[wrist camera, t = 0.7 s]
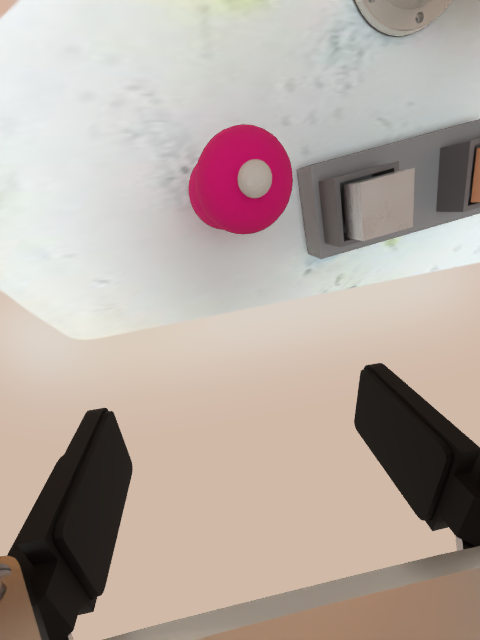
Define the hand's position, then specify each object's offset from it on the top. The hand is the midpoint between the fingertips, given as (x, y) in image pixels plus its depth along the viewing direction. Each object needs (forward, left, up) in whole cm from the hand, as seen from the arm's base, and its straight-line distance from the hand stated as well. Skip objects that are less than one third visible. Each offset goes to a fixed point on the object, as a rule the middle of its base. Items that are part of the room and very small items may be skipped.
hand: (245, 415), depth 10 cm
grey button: (-16, +7, -19) cm, 26 cm away
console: (-22, +11, -27) cm, 36 cm away
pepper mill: (-8, -4, -27) cm, 28 cm away
